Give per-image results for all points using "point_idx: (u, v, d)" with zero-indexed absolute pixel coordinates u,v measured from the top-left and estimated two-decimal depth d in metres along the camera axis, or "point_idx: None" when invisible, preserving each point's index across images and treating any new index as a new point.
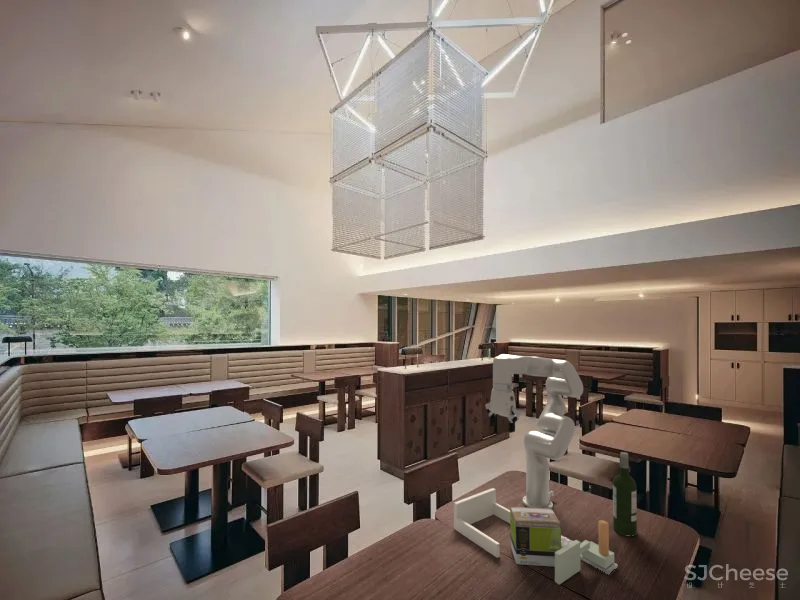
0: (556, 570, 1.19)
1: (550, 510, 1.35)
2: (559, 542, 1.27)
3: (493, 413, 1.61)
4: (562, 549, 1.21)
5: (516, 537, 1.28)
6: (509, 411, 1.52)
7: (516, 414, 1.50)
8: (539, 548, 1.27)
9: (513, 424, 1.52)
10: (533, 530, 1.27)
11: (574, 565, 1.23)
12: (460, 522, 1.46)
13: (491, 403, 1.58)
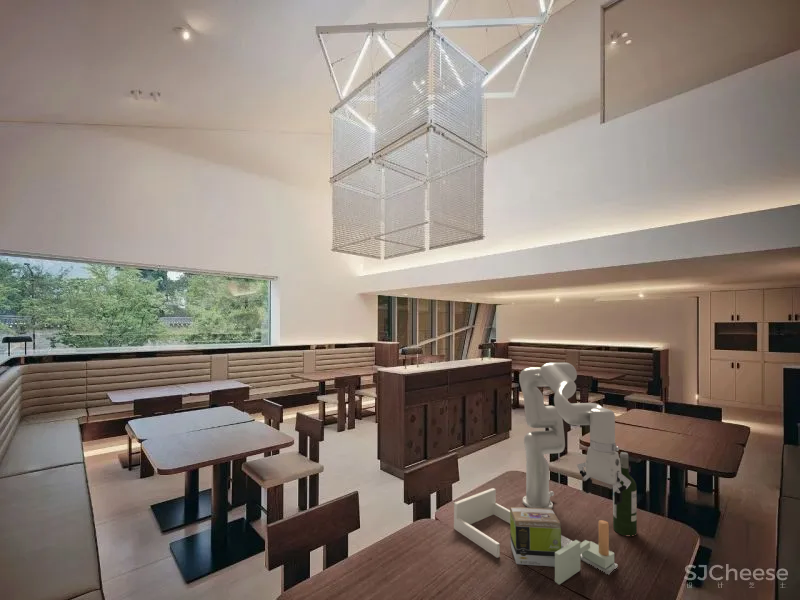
0: (556, 570, 1.19)
1: (550, 510, 1.35)
2: (559, 542, 1.27)
3: None
4: (562, 549, 1.21)
5: (516, 537, 1.28)
6: (615, 478, 1.24)
7: (625, 483, 1.22)
8: (539, 548, 1.27)
9: (620, 494, 1.23)
10: (533, 530, 1.27)
11: (574, 565, 1.23)
12: (460, 522, 1.46)
13: (588, 465, 1.30)
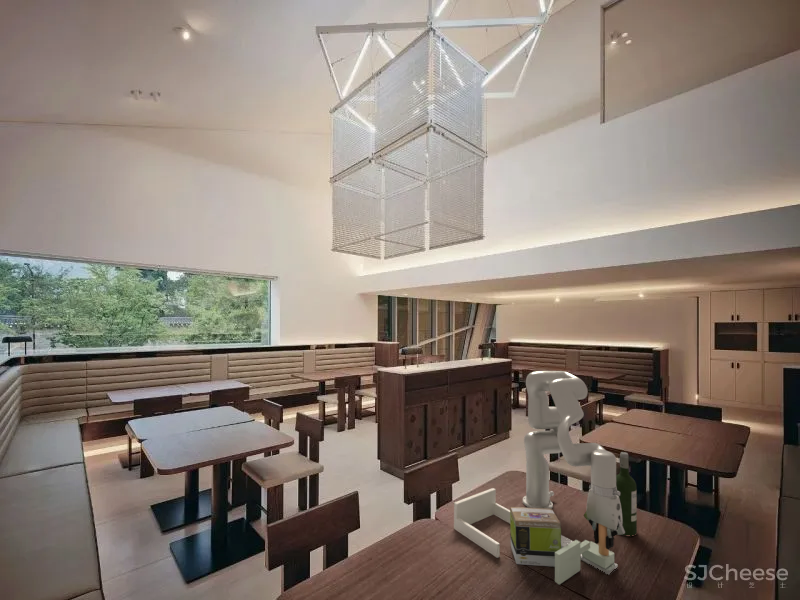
0: (556, 570, 1.19)
1: (550, 510, 1.35)
2: (559, 542, 1.27)
3: (597, 525, 1.30)
4: (562, 549, 1.21)
5: (516, 537, 1.28)
6: None
7: (619, 531, 1.23)
8: (539, 548, 1.27)
9: (612, 539, 1.25)
10: (533, 530, 1.28)
11: (574, 565, 1.23)
12: (460, 522, 1.46)
13: (588, 508, 1.30)
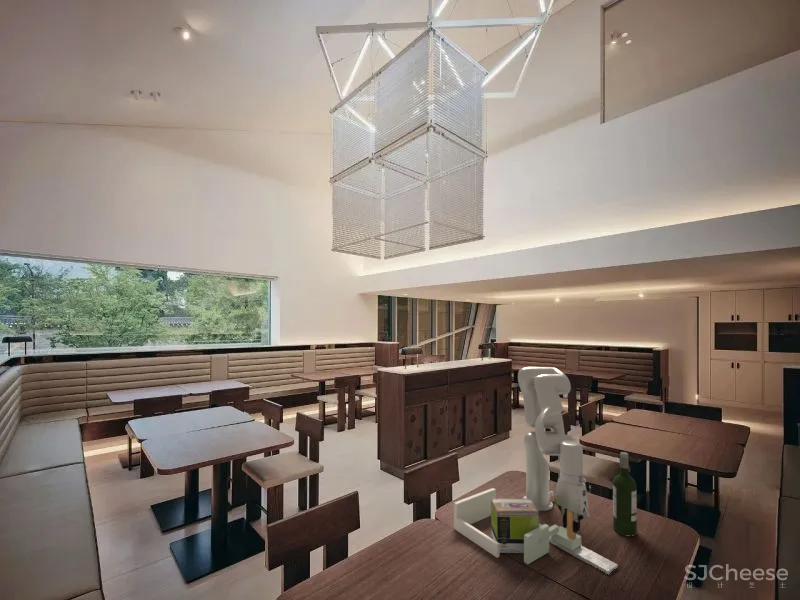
0: (525, 551, 1.28)
1: (528, 500, 1.42)
2: None
3: (565, 510, 1.40)
4: (531, 532, 1.30)
5: (497, 527, 1.34)
6: None
7: (585, 515, 1.32)
8: (519, 536, 1.33)
9: (578, 523, 1.35)
10: (513, 520, 1.34)
11: (543, 547, 1.32)
12: (460, 522, 1.46)
13: (558, 494, 1.39)
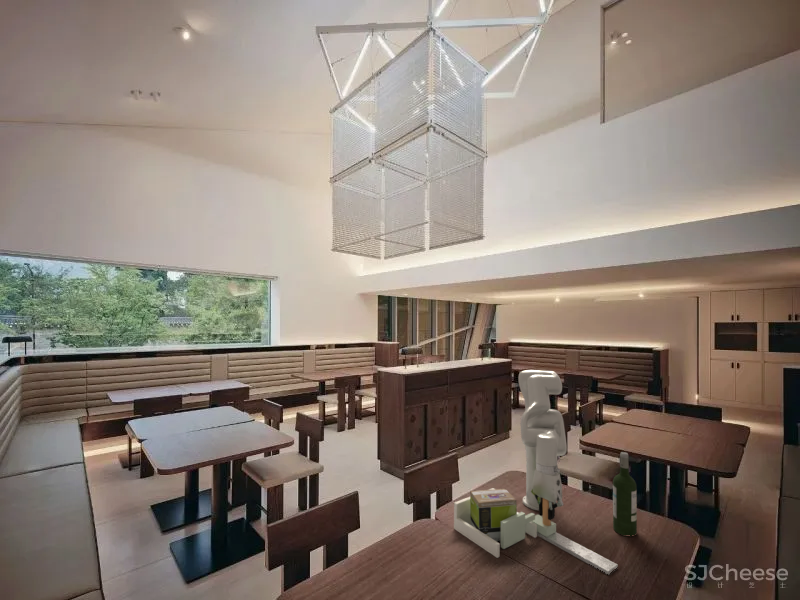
0: (501, 536, 1.36)
1: (504, 490, 1.50)
2: None
3: (541, 499, 1.48)
4: (507, 519, 1.38)
5: (479, 518, 1.40)
6: None
7: (558, 504, 1.41)
8: (499, 525, 1.41)
9: (553, 511, 1.43)
10: (494, 509, 1.41)
11: (519, 533, 1.40)
12: (460, 522, 1.46)
13: (534, 484, 1.47)
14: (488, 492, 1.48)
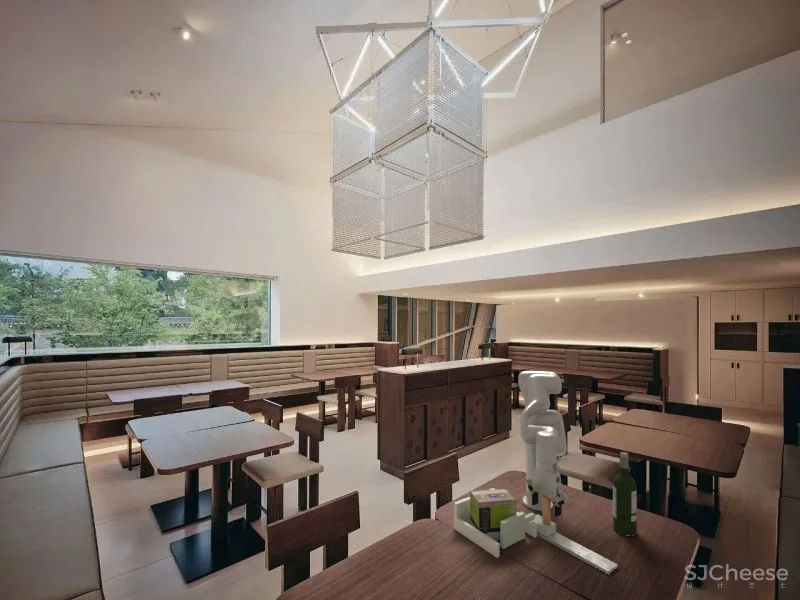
0: (501, 536, 1.36)
1: (504, 490, 1.50)
2: None
3: None
4: (507, 519, 1.38)
5: (479, 518, 1.40)
6: (555, 494, 1.41)
7: (563, 498, 1.39)
8: (499, 524, 1.41)
9: (559, 508, 1.41)
10: (493, 509, 1.41)
11: (518, 533, 1.40)
12: (460, 522, 1.46)
13: (534, 481, 1.48)
14: (488, 492, 1.48)
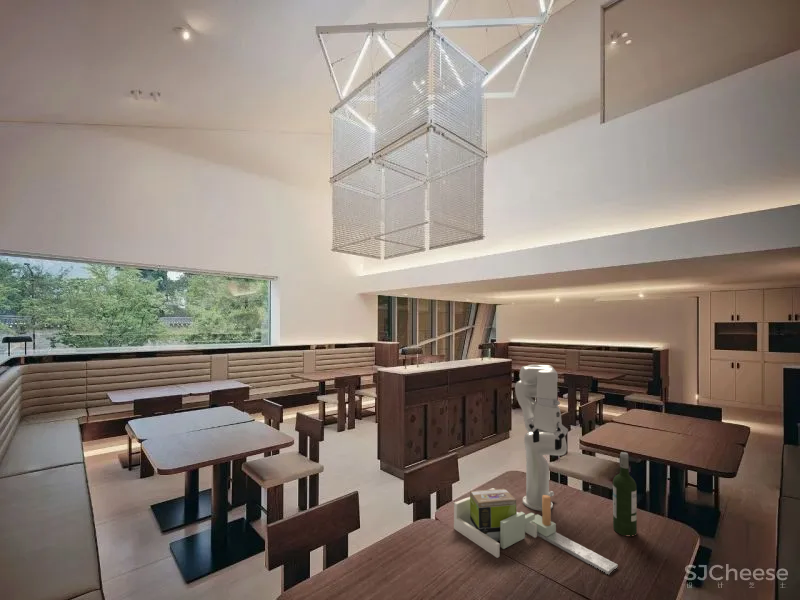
0: (501, 536, 1.36)
1: (504, 490, 1.50)
2: None
3: (536, 428, 1.55)
4: (507, 519, 1.38)
5: (479, 518, 1.40)
6: (555, 427, 1.46)
7: (563, 431, 1.44)
8: (499, 524, 1.41)
9: (560, 441, 1.46)
10: (493, 509, 1.41)
11: (518, 533, 1.40)
12: (460, 522, 1.46)
13: (535, 418, 1.53)
14: (488, 492, 1.48)
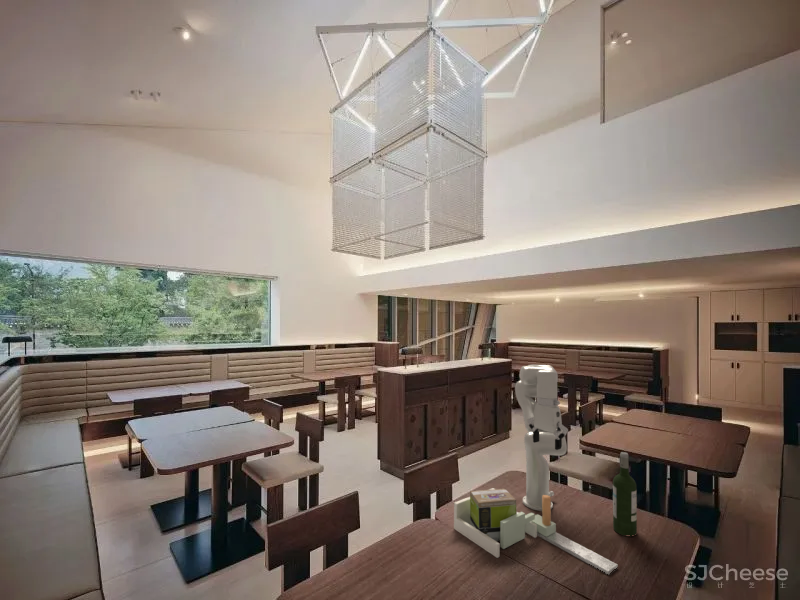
0: (501, 536, 1.36)
1: (504, 490, 1.50)
2: None
3: (536, 428, 1.55)
4: (507, 519, 1.38)
5: (479, 518, 1.40)
6: (555, 427, 1.46)
7: (563, 431, 1.44)
8: (498, 524, 1.41)
9: (560, 441, 1.46)
10: (493, 509, 1.41)
11: (518, 533, 1.40)
12: (460, 522, 1.46)
13: (535, 418, 1.53)
14: (488, 492, 1.48)
